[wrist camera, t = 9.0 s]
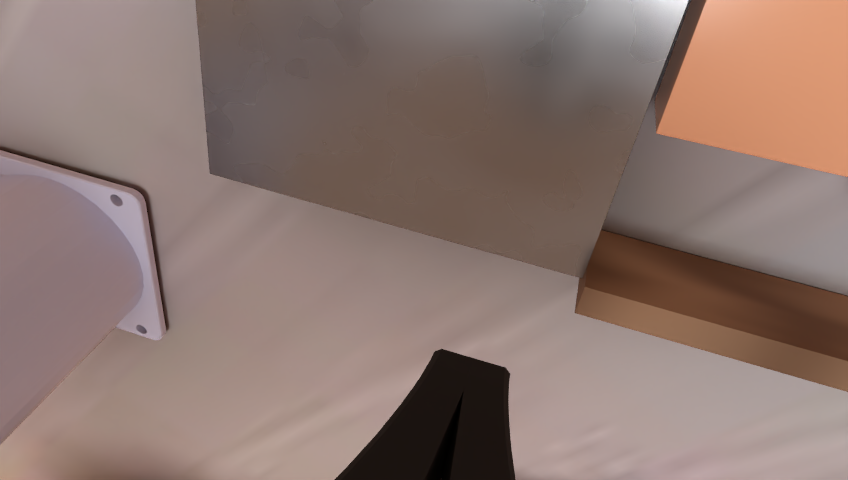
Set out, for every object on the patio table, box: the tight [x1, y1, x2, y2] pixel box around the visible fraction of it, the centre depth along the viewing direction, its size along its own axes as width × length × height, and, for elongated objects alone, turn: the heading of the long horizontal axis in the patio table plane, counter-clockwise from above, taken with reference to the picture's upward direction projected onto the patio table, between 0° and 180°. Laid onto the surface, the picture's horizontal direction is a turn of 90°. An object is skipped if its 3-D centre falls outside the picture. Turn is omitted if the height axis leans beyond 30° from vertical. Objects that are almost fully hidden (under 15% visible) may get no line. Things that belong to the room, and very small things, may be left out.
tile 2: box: [655, 0, 848, 177], centre depth 15 cm, size 5×5×2 cm
